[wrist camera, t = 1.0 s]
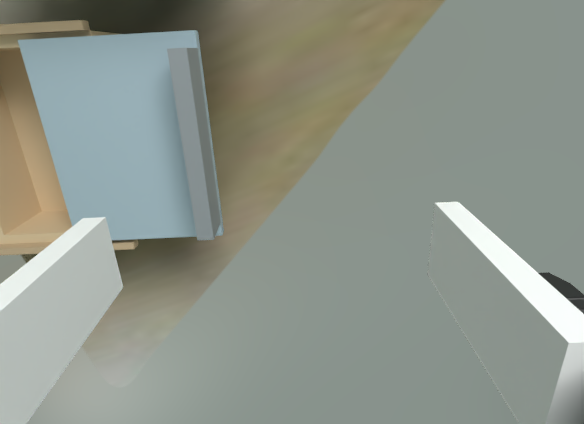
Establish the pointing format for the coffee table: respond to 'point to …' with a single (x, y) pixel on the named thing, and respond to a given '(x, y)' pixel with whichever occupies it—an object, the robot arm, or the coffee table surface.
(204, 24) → the coffee table surface
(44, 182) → the wooden box
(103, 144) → the lid
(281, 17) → the coffee table surface
